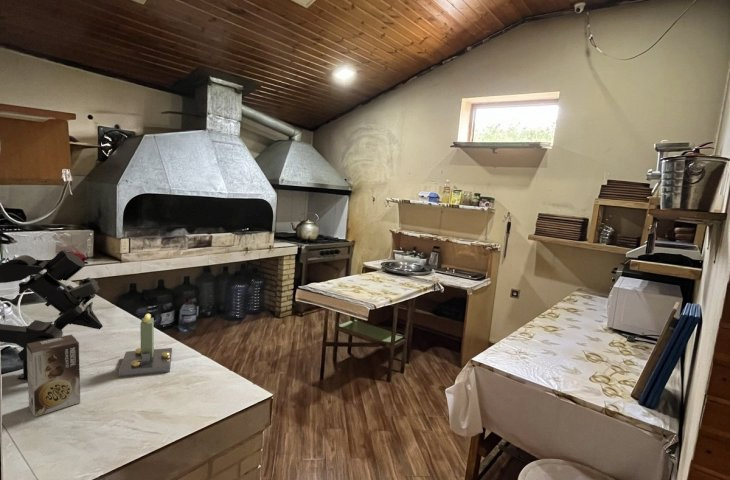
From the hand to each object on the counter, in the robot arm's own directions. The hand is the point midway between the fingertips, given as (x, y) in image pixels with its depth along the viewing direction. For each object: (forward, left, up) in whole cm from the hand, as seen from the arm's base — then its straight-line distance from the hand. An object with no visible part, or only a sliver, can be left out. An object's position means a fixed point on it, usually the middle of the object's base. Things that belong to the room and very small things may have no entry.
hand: (101, 327), depth 112 cm
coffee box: (-19, 0, -13) cm, 23 cm away
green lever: (+4, -11, -10) cm, 15 cm away
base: (+4, -11, -13) cm, 17 cm away
